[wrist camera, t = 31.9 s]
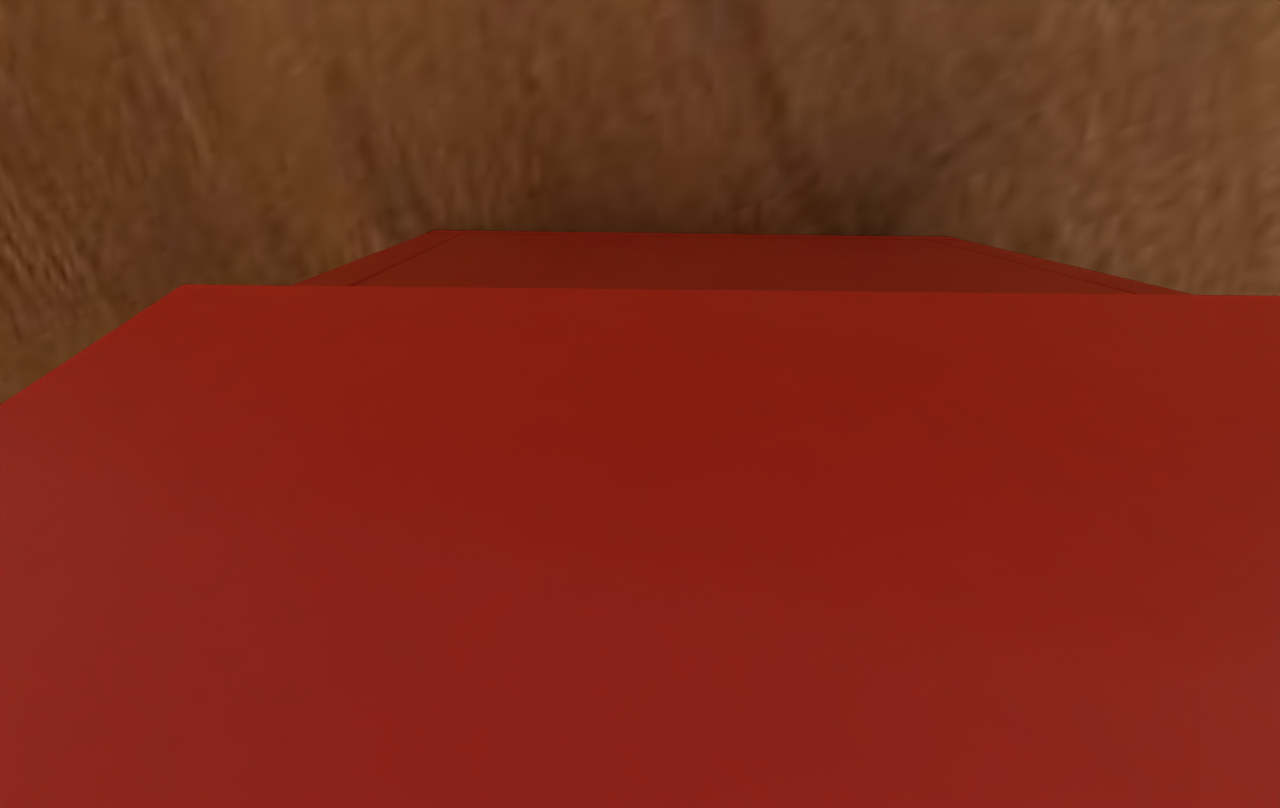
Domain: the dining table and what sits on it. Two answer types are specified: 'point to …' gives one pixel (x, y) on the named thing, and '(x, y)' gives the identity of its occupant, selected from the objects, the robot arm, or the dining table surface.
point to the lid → (647, 552)
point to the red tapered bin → (718, 264)
